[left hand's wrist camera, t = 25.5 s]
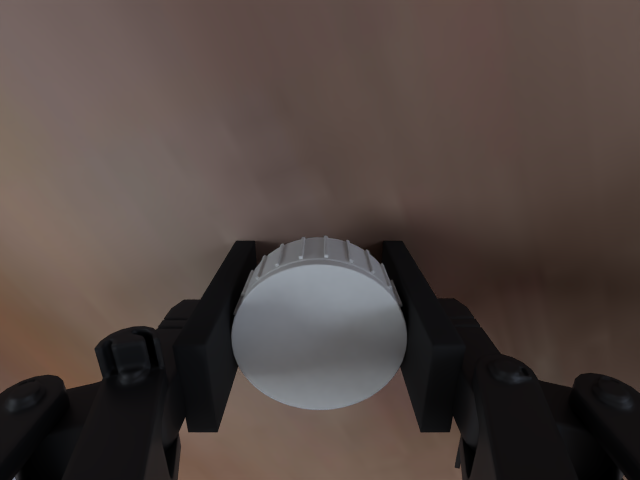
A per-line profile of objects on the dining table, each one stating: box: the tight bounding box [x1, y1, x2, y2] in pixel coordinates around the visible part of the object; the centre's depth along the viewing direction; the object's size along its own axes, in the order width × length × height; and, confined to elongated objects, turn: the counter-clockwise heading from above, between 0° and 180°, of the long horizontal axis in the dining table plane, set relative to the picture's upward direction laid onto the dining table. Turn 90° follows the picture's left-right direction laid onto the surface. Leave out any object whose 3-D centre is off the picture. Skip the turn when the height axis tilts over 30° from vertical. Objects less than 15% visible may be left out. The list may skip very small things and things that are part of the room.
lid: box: [231, 236, 407, 410], centre depth 11 cm, size 5×5×2 cm
